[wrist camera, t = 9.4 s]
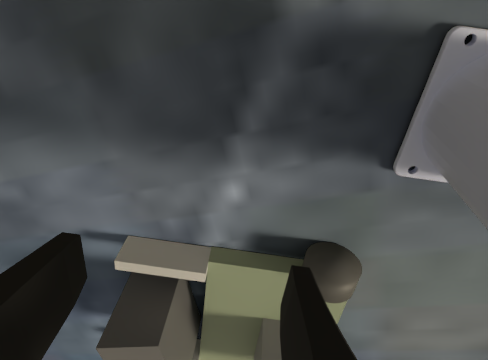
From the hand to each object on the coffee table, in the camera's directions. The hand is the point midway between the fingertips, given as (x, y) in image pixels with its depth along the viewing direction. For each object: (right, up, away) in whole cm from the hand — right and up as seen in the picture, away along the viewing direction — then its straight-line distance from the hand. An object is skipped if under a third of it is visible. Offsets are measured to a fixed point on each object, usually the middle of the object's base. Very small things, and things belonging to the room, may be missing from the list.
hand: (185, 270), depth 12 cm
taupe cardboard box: (-4, -6, +16) cm, 17 cm away
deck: (+1, -7, +16) cm, 17 cm away
